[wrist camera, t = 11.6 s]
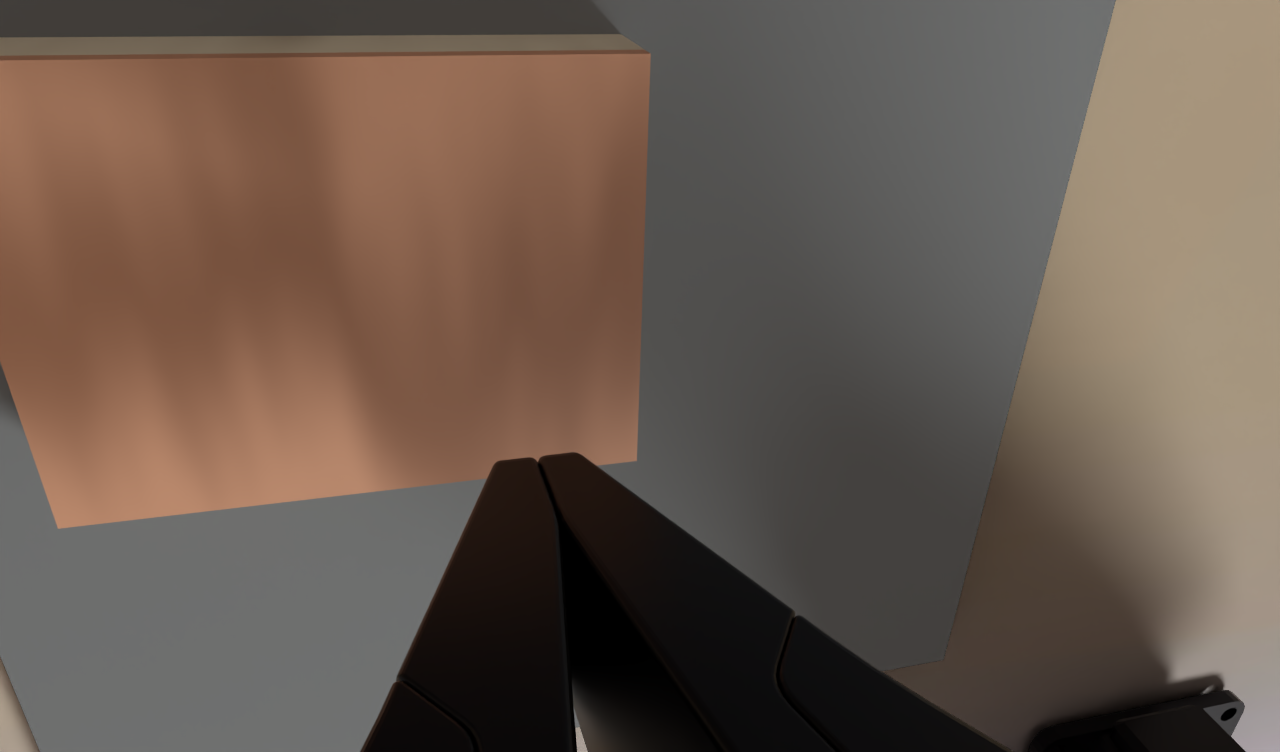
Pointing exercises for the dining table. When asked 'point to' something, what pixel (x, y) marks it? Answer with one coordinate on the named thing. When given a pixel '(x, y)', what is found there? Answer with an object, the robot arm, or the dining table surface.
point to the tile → (317, 262)
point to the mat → (669, 363)
